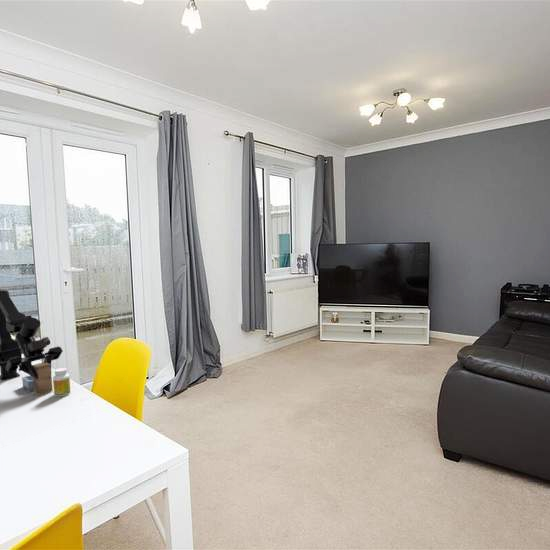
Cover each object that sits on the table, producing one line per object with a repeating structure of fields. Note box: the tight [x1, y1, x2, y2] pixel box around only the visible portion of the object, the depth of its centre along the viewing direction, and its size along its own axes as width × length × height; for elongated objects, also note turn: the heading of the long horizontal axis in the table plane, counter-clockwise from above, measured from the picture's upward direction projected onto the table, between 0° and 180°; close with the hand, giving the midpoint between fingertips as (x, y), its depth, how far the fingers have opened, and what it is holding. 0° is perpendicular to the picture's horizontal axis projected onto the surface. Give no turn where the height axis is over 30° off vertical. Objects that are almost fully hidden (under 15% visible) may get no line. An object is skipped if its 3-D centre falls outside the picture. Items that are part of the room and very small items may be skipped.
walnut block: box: [32, 361, 54, 396], centre depth 146 cm, size 4×4×11 cm
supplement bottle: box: [52, 367, 71, 398], centre depth 144 cm, size 5×5×10 cm
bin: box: [21, 375, 34, 392], centre depth 152 cm, size 7×7×4 cm
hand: (44, 376), depth 145 cm, fingers closed on walnut block, 4 cm apart
